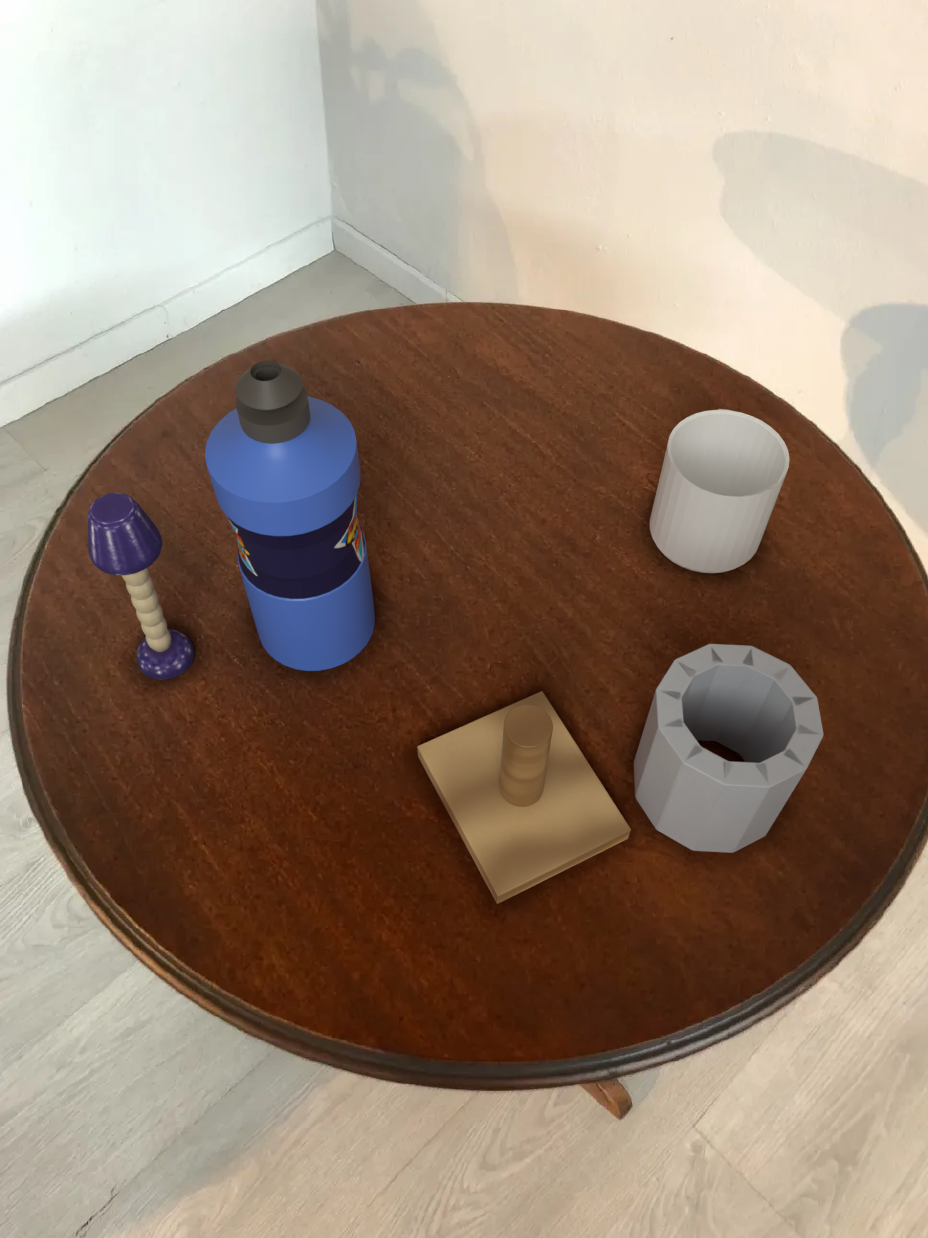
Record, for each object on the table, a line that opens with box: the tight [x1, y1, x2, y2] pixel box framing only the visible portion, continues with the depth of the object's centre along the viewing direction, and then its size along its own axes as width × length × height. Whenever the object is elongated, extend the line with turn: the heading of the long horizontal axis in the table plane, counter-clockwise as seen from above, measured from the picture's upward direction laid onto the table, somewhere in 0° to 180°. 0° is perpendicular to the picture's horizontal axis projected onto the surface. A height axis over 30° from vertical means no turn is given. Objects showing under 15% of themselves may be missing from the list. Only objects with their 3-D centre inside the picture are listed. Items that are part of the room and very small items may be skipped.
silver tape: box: [633, 643, 824, 854], centre depth 66 cm, size 10×10×10 cm
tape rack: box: [416, 691, 632, 905], centre depth 66 cm, size 12×10×10 cm
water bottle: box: [204, 360, 376, 672], centre depth 68 cm, size 9×9×25 cm
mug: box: [649, 408, 790, 574], centre depth 81 cm, size 12×9×9 cm
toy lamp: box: [87, 492, 195, 681], centre depth 70 cm, size 5×5×17 cm
